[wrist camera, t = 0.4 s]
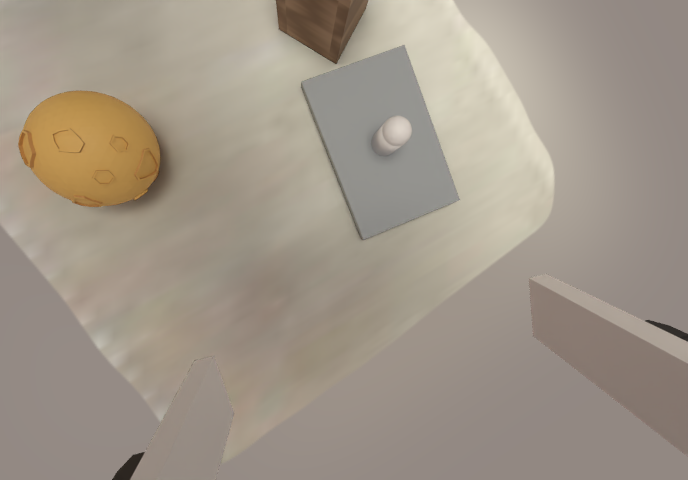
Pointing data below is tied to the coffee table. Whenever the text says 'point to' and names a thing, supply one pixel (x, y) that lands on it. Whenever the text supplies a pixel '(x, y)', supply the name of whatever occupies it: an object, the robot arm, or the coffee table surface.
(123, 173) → the stress ball
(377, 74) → the stub plate
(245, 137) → the coffee table surface
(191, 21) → the coffee table surface
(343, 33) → the brown wooden block
